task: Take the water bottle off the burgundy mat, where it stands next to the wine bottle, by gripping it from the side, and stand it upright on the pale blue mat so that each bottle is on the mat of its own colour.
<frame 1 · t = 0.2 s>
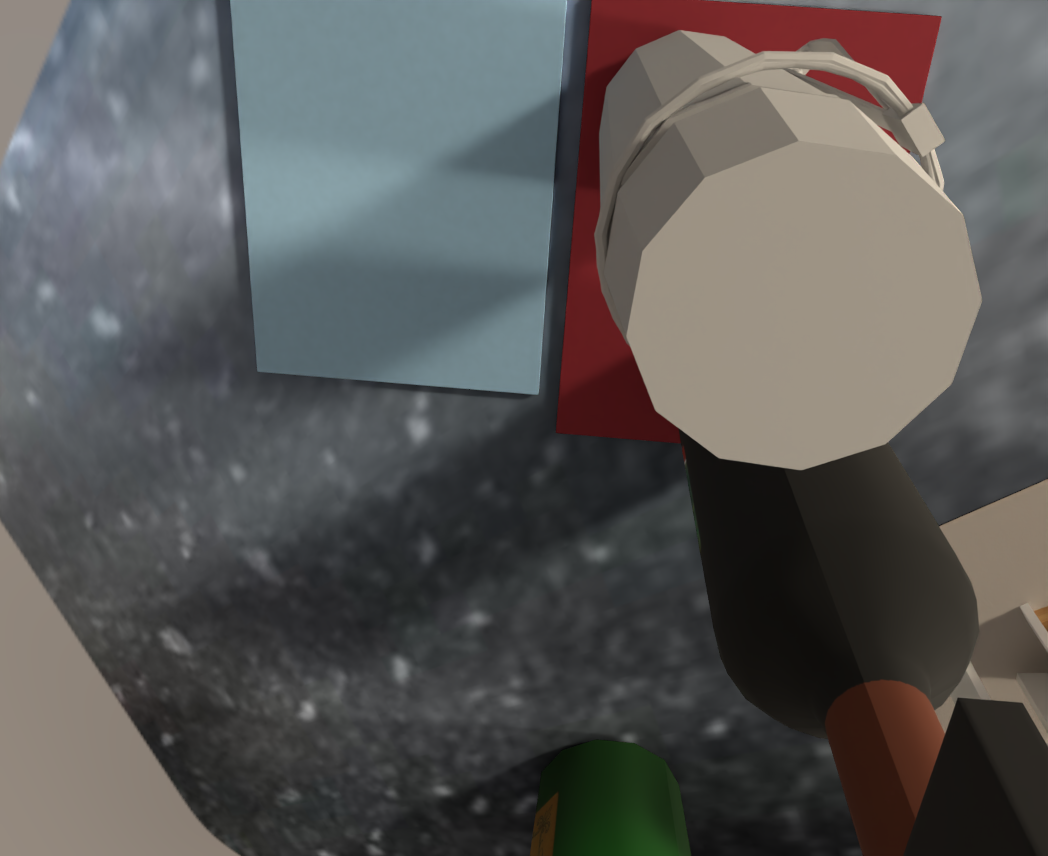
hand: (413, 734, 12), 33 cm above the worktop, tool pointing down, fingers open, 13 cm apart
water bottle: (701, 104, 40), resting on burgundy mat
blue mat: (397, 199, 43), on the worktop
wine bottle: (749, 372, 45), resting on burgundy mat
burgundy mat: (726, 246, 43), on the worktop
bottle: (608, 783, 58), on the worktop
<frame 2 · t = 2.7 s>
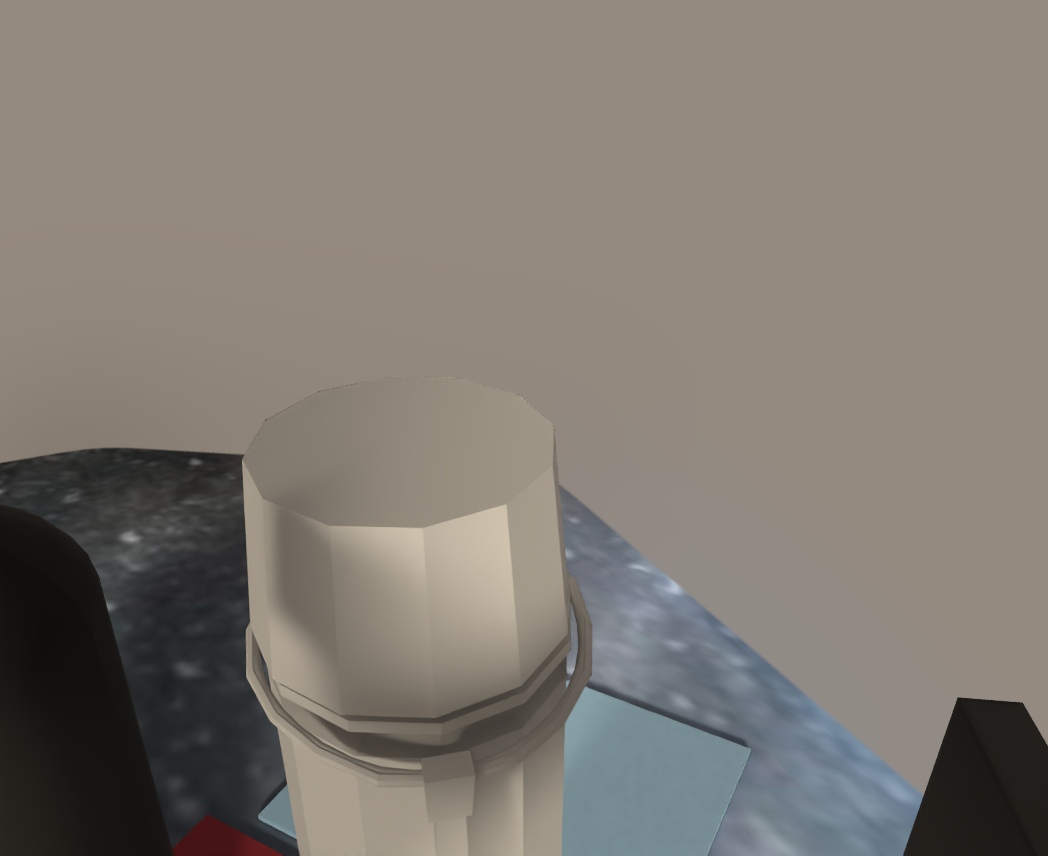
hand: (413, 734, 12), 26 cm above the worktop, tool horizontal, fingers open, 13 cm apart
blue mat: (514, 785, 43), on the worktop
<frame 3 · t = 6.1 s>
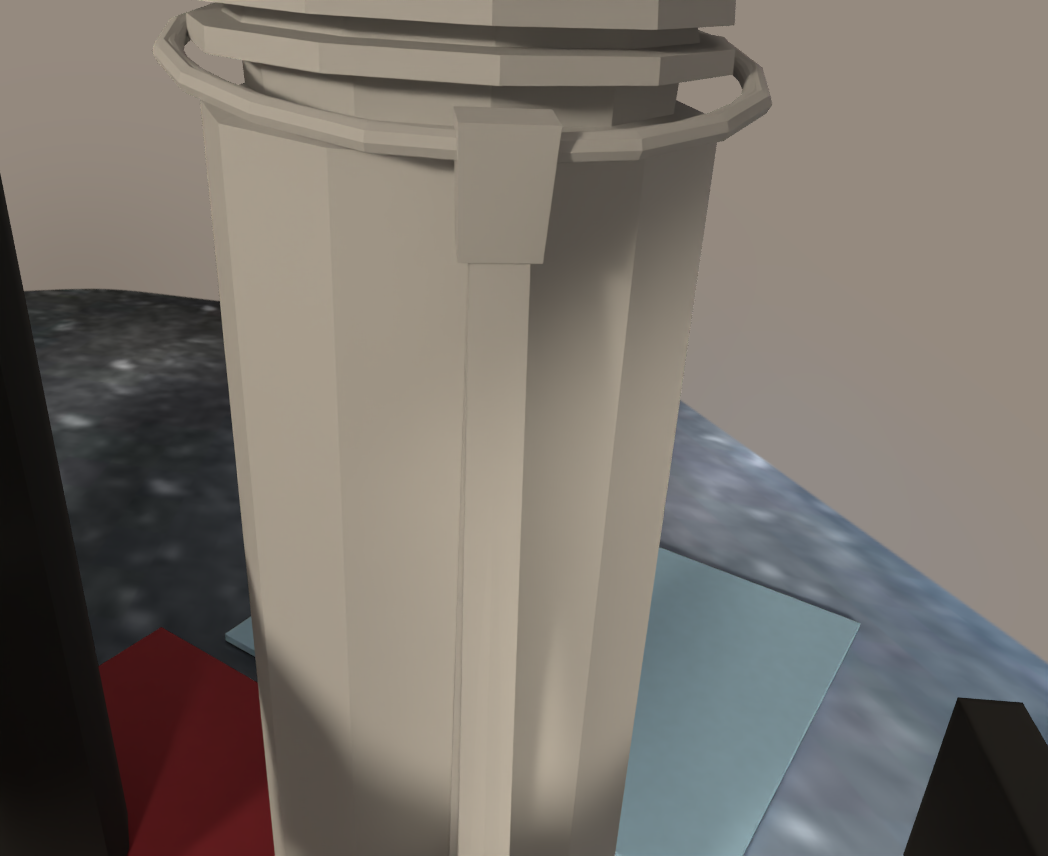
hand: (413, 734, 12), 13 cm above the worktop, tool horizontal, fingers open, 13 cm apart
blue mat: (553, 634, 34), on the worktop
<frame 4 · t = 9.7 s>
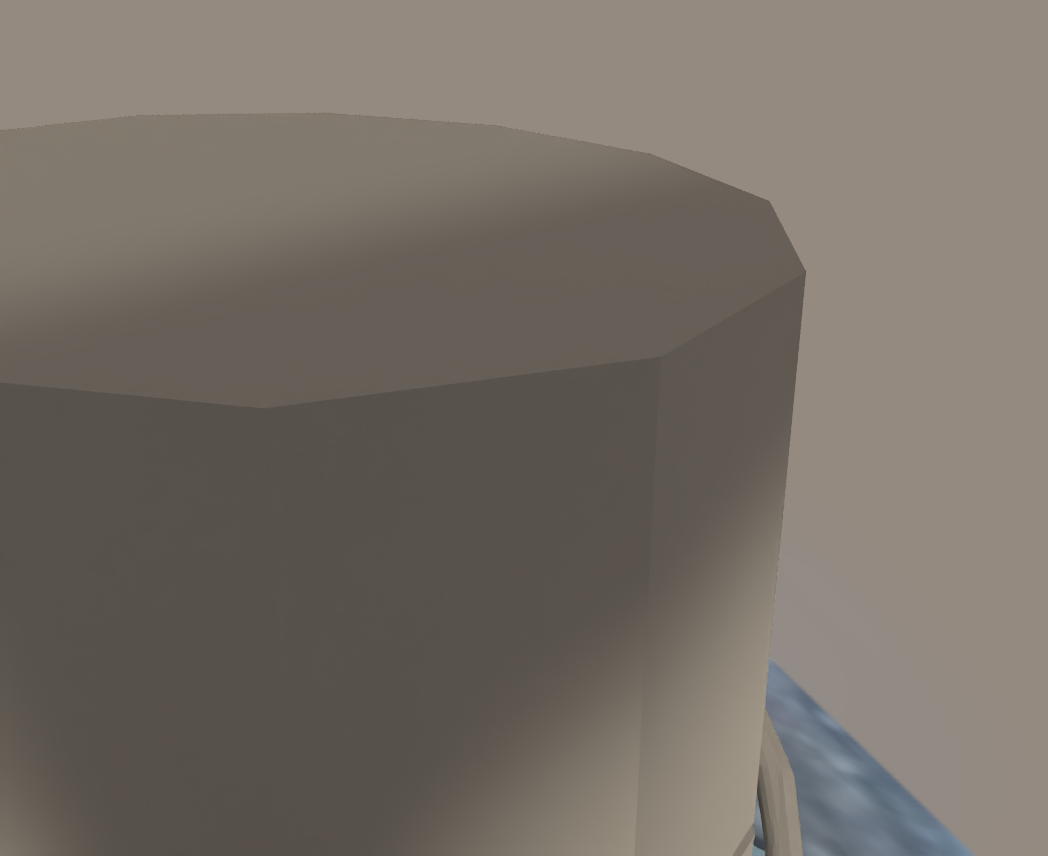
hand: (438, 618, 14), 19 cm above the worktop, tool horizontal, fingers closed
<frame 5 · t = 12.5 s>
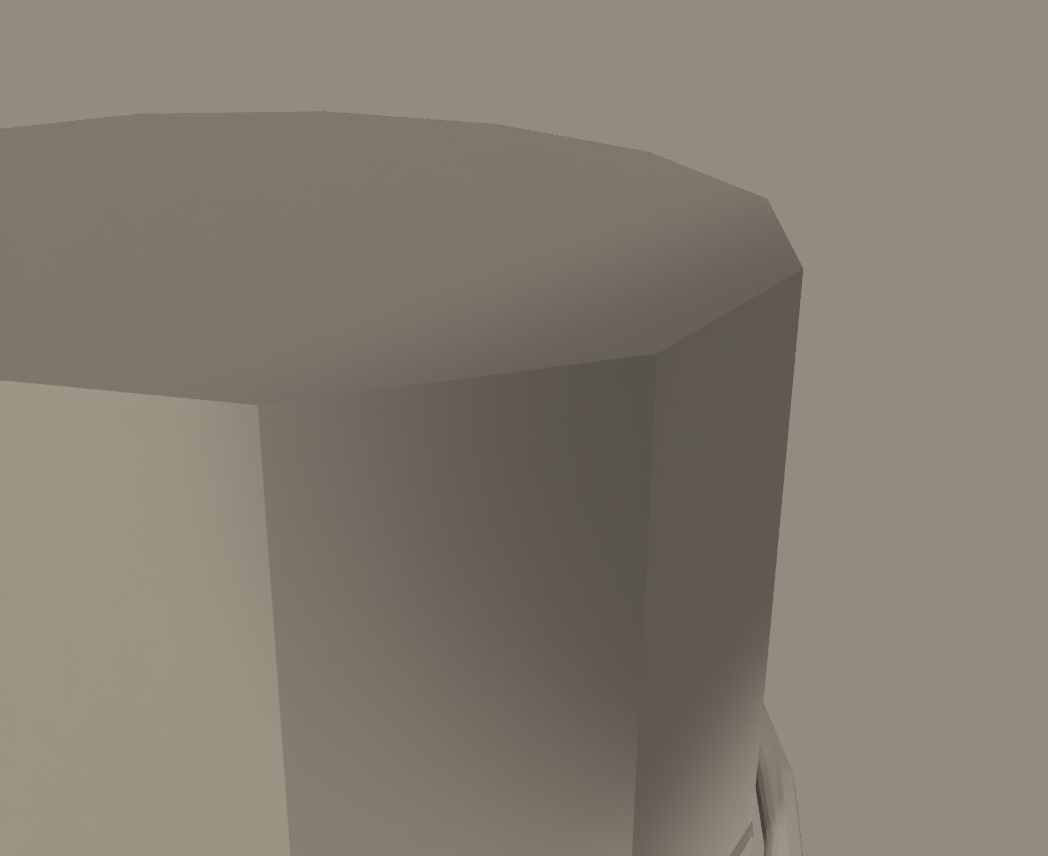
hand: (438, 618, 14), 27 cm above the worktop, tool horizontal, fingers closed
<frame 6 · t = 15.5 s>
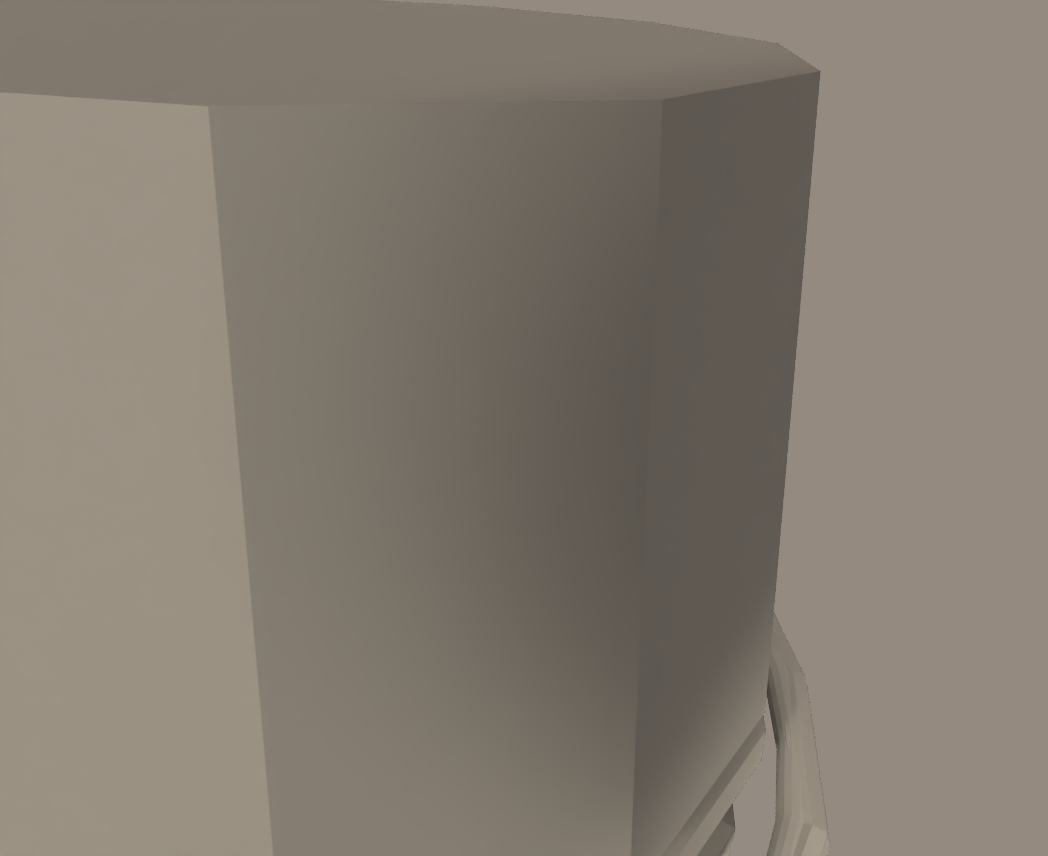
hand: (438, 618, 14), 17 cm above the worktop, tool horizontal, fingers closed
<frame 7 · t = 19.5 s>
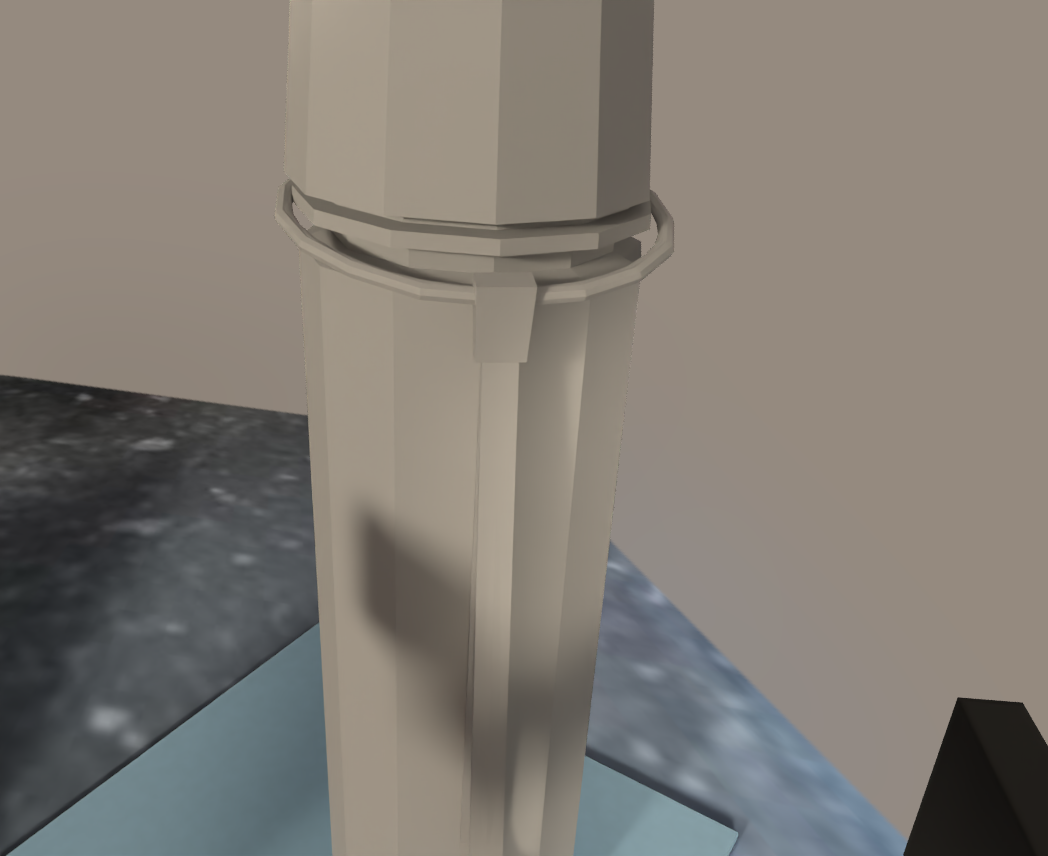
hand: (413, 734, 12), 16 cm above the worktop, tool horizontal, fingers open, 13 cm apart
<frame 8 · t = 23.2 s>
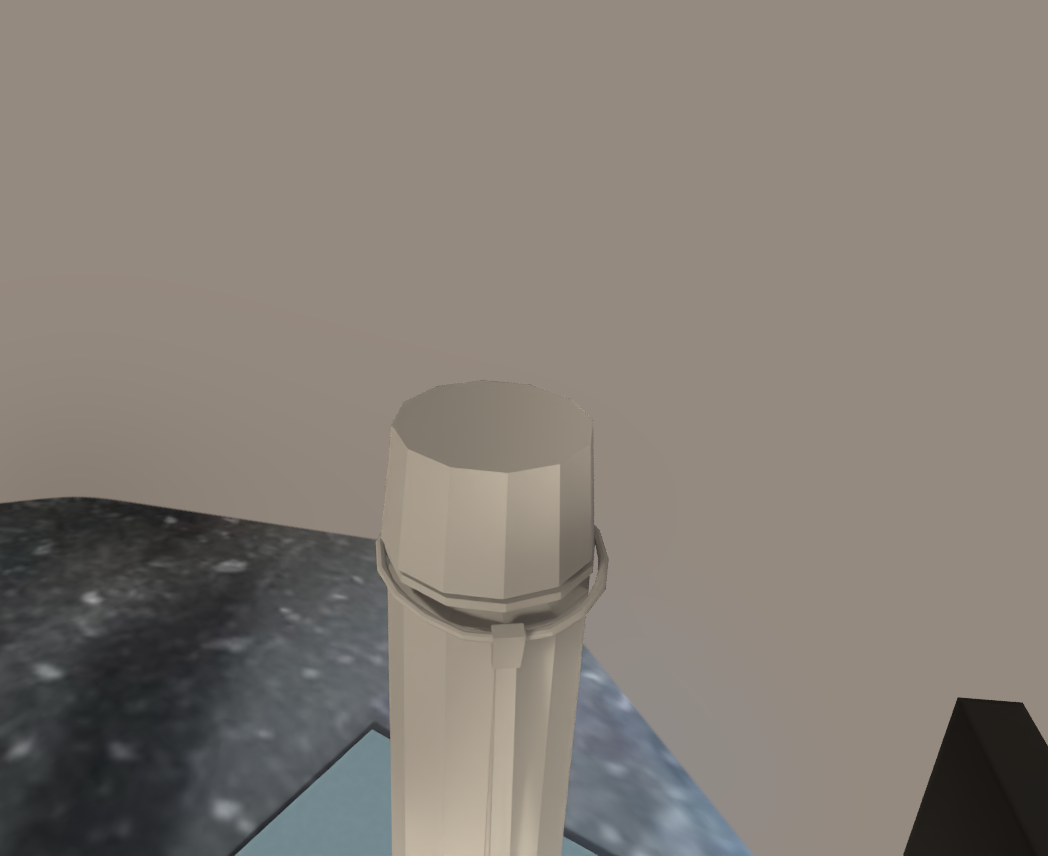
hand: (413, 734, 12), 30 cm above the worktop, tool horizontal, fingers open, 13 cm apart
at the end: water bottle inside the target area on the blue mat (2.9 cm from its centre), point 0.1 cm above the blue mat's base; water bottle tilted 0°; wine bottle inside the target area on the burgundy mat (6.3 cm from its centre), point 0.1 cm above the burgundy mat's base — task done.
